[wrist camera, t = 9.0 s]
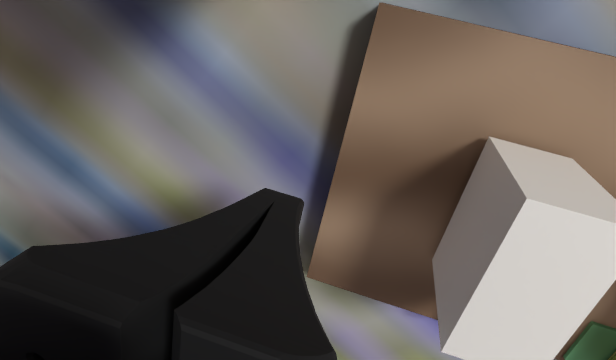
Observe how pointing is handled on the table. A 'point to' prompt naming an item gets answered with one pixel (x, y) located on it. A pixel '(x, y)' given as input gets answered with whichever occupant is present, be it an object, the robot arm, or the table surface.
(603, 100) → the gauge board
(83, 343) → the robot arm
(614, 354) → the peak pointer
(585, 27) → the table surface
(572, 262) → the white rectangular block
